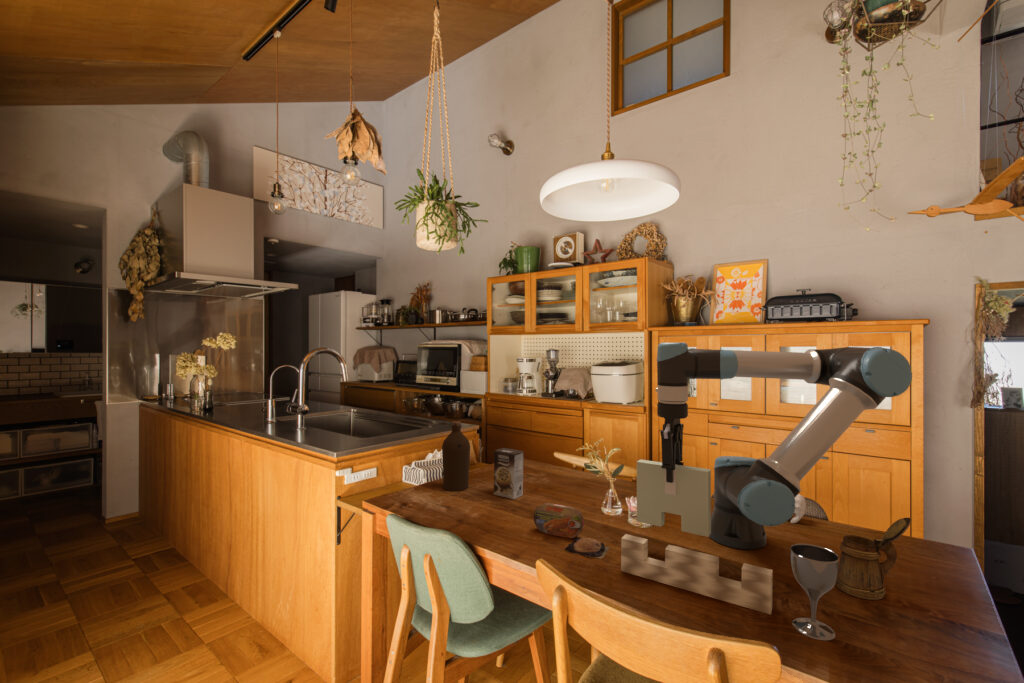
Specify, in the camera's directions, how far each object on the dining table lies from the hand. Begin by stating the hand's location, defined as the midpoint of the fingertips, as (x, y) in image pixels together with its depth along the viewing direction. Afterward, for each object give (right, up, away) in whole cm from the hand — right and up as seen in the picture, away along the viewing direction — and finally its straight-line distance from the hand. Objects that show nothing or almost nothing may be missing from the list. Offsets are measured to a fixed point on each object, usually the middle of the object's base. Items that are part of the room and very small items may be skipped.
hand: (672, 492), depth 121 cm
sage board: (0, -9, 0) cm, 9 cm away
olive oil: (-63, -17, +56) cm, 86 cm away
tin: (-28, -17, +14) cm, 36 cm away
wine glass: (+17, -17, -30) cm, 39 cm away
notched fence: (-1, -17, -15) cm, 23 cm away
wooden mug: (+39, -17, -16) cm, 46 cm away
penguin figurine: (+45, -17, +27) cm, 55 cm away
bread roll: (-22, -18, +4) cm, 28 cm away
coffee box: (-43, -17, +48) cm, 66 cm away
